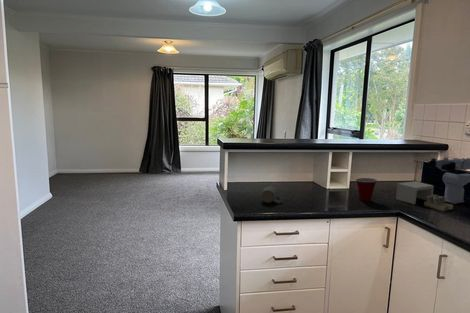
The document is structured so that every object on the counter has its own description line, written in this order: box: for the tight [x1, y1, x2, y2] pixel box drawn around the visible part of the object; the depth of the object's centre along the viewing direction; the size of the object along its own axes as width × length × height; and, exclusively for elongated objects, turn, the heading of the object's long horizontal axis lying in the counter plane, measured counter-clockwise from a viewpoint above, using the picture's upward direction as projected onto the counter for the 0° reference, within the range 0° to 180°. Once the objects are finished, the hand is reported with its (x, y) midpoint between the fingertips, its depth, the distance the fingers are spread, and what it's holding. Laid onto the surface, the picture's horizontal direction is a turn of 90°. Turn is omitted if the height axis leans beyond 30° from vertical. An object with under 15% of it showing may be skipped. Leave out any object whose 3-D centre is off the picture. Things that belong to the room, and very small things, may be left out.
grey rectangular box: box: [395, 181, 435, 205], centre depth 178 cm, size 15×11×9 cm
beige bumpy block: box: [423, 194, 454, 212], centre depth 166 cm, size 8×10×6 cm
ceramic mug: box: [261, 185, 283, 204], centre depth 170 cm, size 11×8×8 cm
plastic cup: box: [355, 177, 378, 203], centre depth 176 cm, size 11×11×12 cm
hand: (434, 165), depth 166 cm, fingers open, 7 cm apart
